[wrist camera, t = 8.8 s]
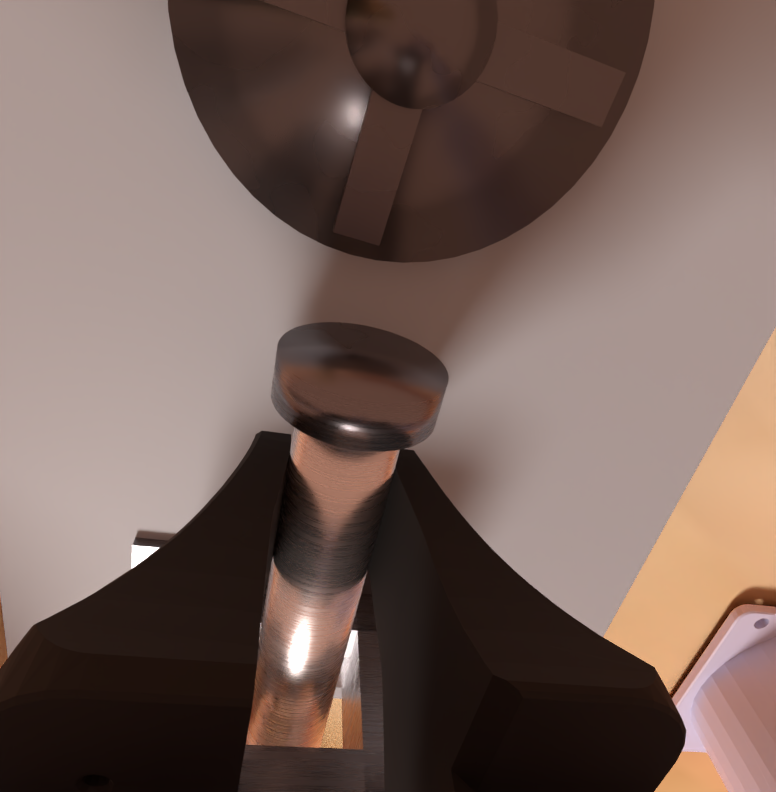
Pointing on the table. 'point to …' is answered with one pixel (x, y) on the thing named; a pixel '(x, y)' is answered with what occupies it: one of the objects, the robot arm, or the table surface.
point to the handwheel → (409, 110)
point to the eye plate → (361, 719)
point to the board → (367, 309)
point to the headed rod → (332, 507)
